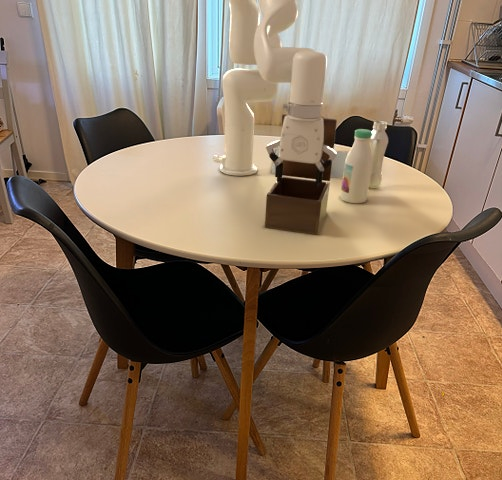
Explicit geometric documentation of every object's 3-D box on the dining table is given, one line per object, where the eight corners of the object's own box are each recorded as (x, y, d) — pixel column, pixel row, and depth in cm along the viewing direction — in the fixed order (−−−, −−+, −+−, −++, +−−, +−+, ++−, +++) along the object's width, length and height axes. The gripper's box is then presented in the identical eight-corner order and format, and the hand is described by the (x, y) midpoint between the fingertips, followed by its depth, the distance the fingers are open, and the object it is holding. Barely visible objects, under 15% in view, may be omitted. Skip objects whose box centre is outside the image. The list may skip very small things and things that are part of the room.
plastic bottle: (380, 190, 150) (392, 125, 140) (358, 188, 151) (369, 123, 141) (380, 184, 156) (391, 120, 145) (358, 182, 157) (369, 119, 146)
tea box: (317, 235, 119) (321, 201, 114) (264, 227, 122) (266, 194, 117) (326, 213, 132) (329, 182, 127) (278, 206, 135) (280, 176, 130)
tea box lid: (336, 120, 116) (339, 112, 120) (282, 115, 119) (286, 107, 123) (329, 181, 127) (332, 172, 131) (280, 175, 130) (284, 166, 134)
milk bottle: (367, 197, 145) (379, 129, 134) (364, 205, 138) (376, 135, 128) (342, 193, 147) (352, 126, 136) (338, 201, 140) (347, 131, 130)
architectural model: (355, 179, 160) (361, 135, 152) (271, 173, 161) (273, 130, 154) (347, 151, 190) (352, 114, 182) (276, 147, 191) (279, 110, 184)
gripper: (264, 110, 109) (260, 183, 118) (340, 118, 106) (330, 192, 114) (272, 105, 115) (268, 174, 124) (344, 111, 112) (334, 182, 121)
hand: (298, 182), depth 119 cm, fingers open, 9 cm apart
